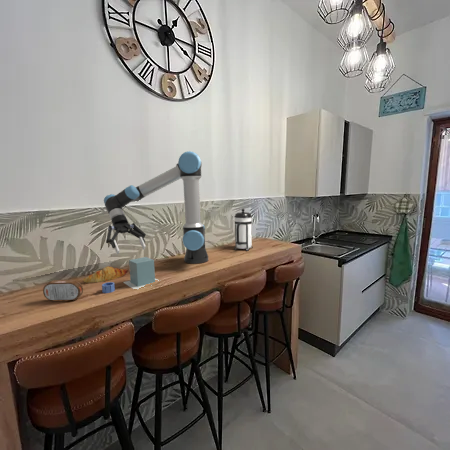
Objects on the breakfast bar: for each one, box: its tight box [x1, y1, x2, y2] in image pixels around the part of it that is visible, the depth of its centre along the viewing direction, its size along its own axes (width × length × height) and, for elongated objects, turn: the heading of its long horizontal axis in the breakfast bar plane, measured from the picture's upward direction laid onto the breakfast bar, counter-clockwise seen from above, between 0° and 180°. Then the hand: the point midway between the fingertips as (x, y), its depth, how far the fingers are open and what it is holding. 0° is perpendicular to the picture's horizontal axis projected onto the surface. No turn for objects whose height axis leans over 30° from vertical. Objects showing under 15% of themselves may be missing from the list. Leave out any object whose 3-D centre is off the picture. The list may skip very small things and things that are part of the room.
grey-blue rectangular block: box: [128, 256, 156, 287], centre depth 126 cm, size 9×9×11 cm
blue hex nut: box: [101, 281, 116, 294], centre depth 116 cm, size 5×5×4 cm
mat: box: [122, 277, 159, 290], centre depth 127 cm, size 14×14×1 cm
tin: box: [42, 279, 84, 301], centre depth 108 cm, size 15×3×8 cm, turn 92°
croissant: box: [82, 265, 129, 284], centre depth 133 cm, size 21×10×8 cm, turn 128°
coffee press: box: [233, 208, 253, 252], centre depth 191 cm, size 17×16×30 cm
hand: (131, 250), depth 132 cm, fingers open, 13 cm apart
